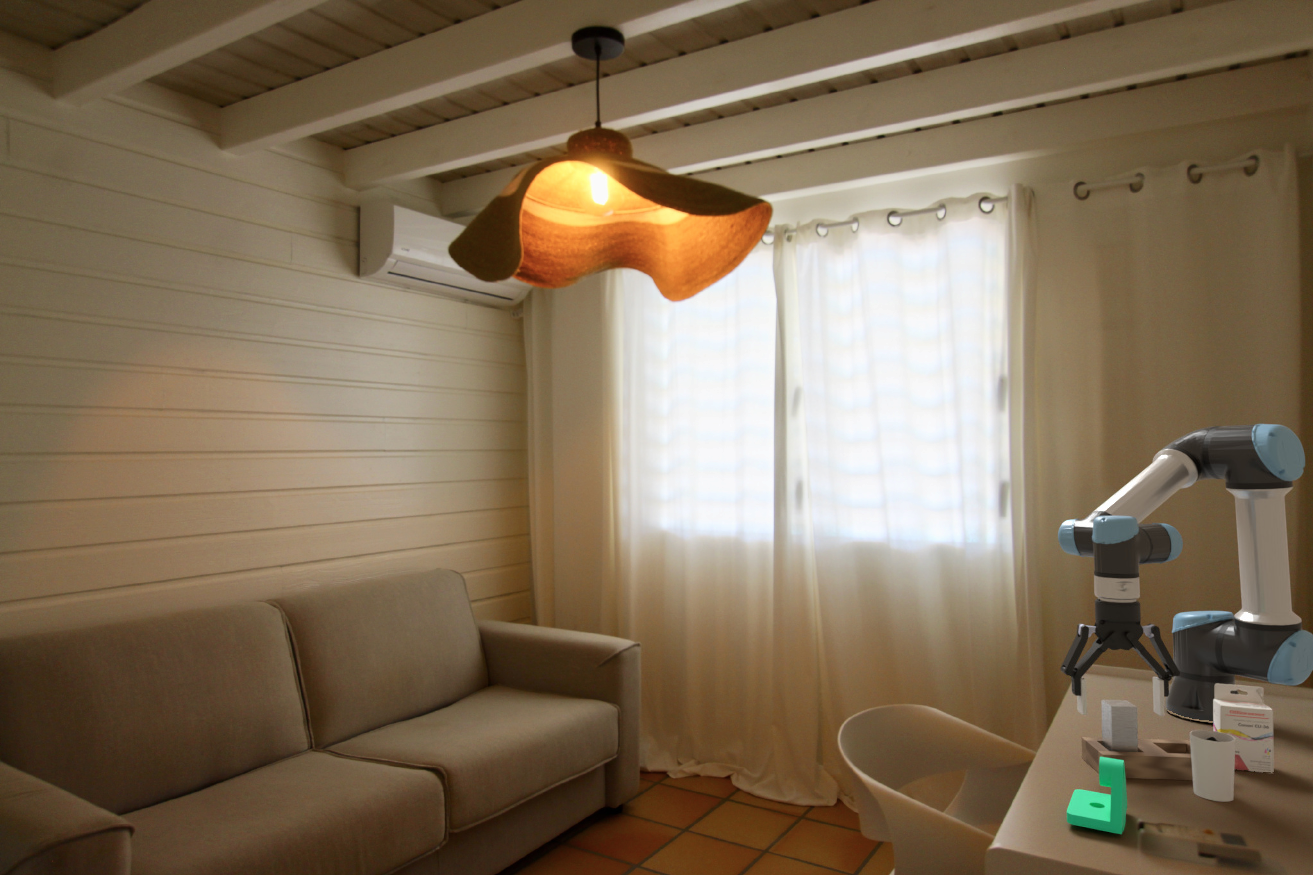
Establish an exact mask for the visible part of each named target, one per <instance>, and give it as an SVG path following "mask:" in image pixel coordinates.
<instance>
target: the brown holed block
mask: <svg viewBox="0 0 1313 875" xmlns="http://www.w3.org/2000/svg"><path fill="white" fill-rule="evenodd" d="M1100 757H1106V758H1113V759H1119V760H1124V765H1125V778H1126V779H1144V780H1145V779H1148V780H1149V779H1150V780H1173V781H1174V780H1176V781H1178V780H1179V781H1181V780H1183V781H1193V775H1192V761H1191V747H1190V739H1189V740H1188V739H1162V738H1161V739H1159V738H1158V739H1157V738H1156V739H1154V738H1152V739H1151V738H1138V752H1115V751H1109V750H1107V749H1106V748H1105V747H1104V746H1103V745H1102V737H1088V736H1086V737H1085V736H1081V759H1082V760H1083V761H1085V763H1086V764H1088V765H1089V766H1090V767H1091V768H1092V769H1094V770H1095V771H1096V772H1097V773H1098V774H1099V760H1100Z"/></svg>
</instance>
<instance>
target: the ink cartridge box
mask: <svg viewBox="0 0 1313 875" xmlns="http://www.w3.org/2000/svg"><path fill="white" fill-rule="evenodd" d="M1236 690H1238V691H1241V692H1245V693H1247V694H1240V693H1239V694H1231V693H1230V691H1236ZM1264 692H1265V688H1264V687H1262V686H1253V685H1243V684H1235V685H1232V684H1219V683H1216V684H1215V686H1214V699H1213V724H1212V725H1213V726H1212V728H1213V730H1212V731H1217V732H1221V733H1225V734H1228V735H1231V736H1233V737H1234V738H1235V767H1234V771H1235V770H1236V769H1237V770H1238V771H1244V770H1248V771H1247V772H1254V771H1255V772H1256V773H1263V772H1271V773H1270V774H1273V773H1272V772H1274V770H1275V767H1274V766H1275V765H1274V764H1275V763H1274V762H1275V760H1274V758H1275V757H1274V755H1275V753H1274V750H1275V748H1274V746H1275V745H1274V711H1273V710H1274V709H1273V708H1271V707H1270V706H1269V705H1267V704H1266V703H1264V702H1265V701H1264V699H1265V698H1264V697H1265V693H1264ZM1237 770H1236V771H1237Z"/></svg>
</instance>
